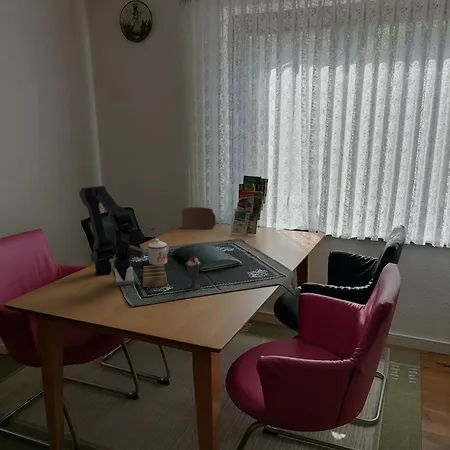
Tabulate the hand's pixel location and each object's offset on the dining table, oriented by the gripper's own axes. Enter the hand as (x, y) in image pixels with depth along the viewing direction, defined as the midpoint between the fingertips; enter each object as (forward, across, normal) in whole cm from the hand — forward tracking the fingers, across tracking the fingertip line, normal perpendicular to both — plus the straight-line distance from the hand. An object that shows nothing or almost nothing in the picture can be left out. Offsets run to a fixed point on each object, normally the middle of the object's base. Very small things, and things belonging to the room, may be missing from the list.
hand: (124, 276), depth 180 cm
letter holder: (+3, +90, -44) cm, 100 cm away
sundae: (+3, -11, -28) cm, 30 cm away
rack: (+3, 0, -12) cm, 13 cm away
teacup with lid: (+3, +25, -16) cm, 30 cm away
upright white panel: (+3, 0, 0) cm, 3 cm away
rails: (+3, 0, 0) cm, 3 cm away
